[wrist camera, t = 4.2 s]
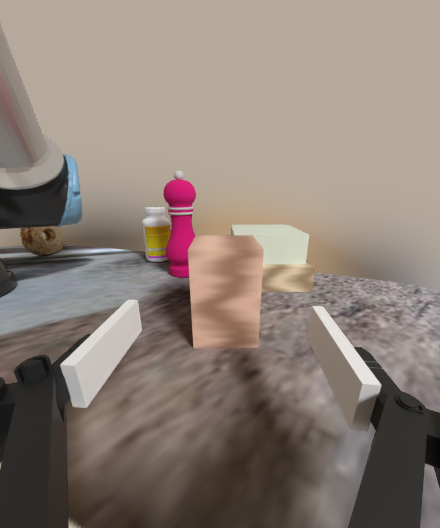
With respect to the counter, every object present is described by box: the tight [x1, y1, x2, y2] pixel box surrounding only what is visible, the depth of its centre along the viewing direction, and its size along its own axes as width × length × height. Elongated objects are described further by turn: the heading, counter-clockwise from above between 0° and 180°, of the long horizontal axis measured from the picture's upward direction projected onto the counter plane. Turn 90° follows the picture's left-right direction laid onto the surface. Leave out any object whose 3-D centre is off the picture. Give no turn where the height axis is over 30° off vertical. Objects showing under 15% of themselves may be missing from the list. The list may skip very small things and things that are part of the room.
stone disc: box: [20, 226, 65, 255], centre depth 59 cm, size 10×4×10 cm, turn 167°
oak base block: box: [261, 260, 316, 292], centre depth 42 cm, size 14×14×5 cm
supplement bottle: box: [142, 207, 171, 262], centre depth 53 cm, size 7×7×13 cm
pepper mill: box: [164, 170, 196, 277], centre depth 42 cm, size 7×7×20 cm
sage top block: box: [231, 225, 309, 265], centre depth 40 cm, size 12×12×5 cm
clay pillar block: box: [188, 235, 264, 348], centre depth 25 cm, size 7×7×11 cm
